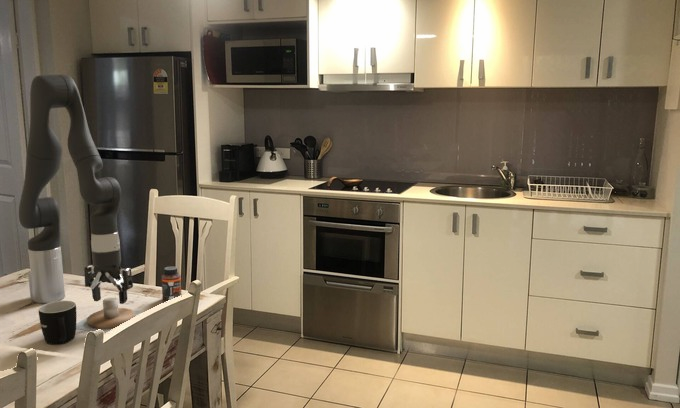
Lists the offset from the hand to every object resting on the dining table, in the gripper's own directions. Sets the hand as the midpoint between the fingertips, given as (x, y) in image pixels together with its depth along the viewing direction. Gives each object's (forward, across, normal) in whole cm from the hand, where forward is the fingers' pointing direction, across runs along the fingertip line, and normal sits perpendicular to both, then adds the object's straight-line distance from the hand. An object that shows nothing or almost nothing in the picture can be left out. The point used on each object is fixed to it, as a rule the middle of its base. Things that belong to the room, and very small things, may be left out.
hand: (110, 301), depth 164 cm
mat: (+6, 0, 0) cm, 7 cm away
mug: (+7, -4, -16) cm, 18 cm away
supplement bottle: (+7, +8, +20) cm, 23 cm away
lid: (+6, 0, 0) cm, 6 cm away
